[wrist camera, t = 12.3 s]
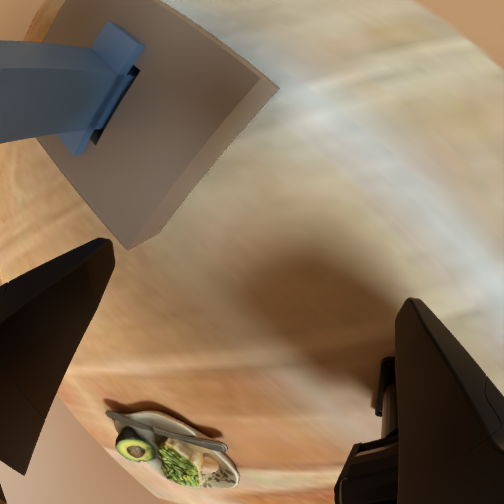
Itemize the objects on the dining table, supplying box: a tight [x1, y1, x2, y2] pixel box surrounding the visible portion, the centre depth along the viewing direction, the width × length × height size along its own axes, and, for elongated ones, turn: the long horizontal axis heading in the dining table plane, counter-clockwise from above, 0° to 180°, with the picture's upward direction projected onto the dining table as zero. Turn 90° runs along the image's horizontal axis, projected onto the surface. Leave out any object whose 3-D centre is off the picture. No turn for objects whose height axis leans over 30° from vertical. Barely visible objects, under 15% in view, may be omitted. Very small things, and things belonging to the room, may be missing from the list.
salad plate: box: [106, 411, 240, 488], centre depth 34 cm, size 19×18×5 cm
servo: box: [0, 21, 146, 156], centre depth 15 cm, size 4×9×14 cm, turn 137°
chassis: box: [36, 0, 280, 251], centre depth 19 cm, size 18×14×4 cm
